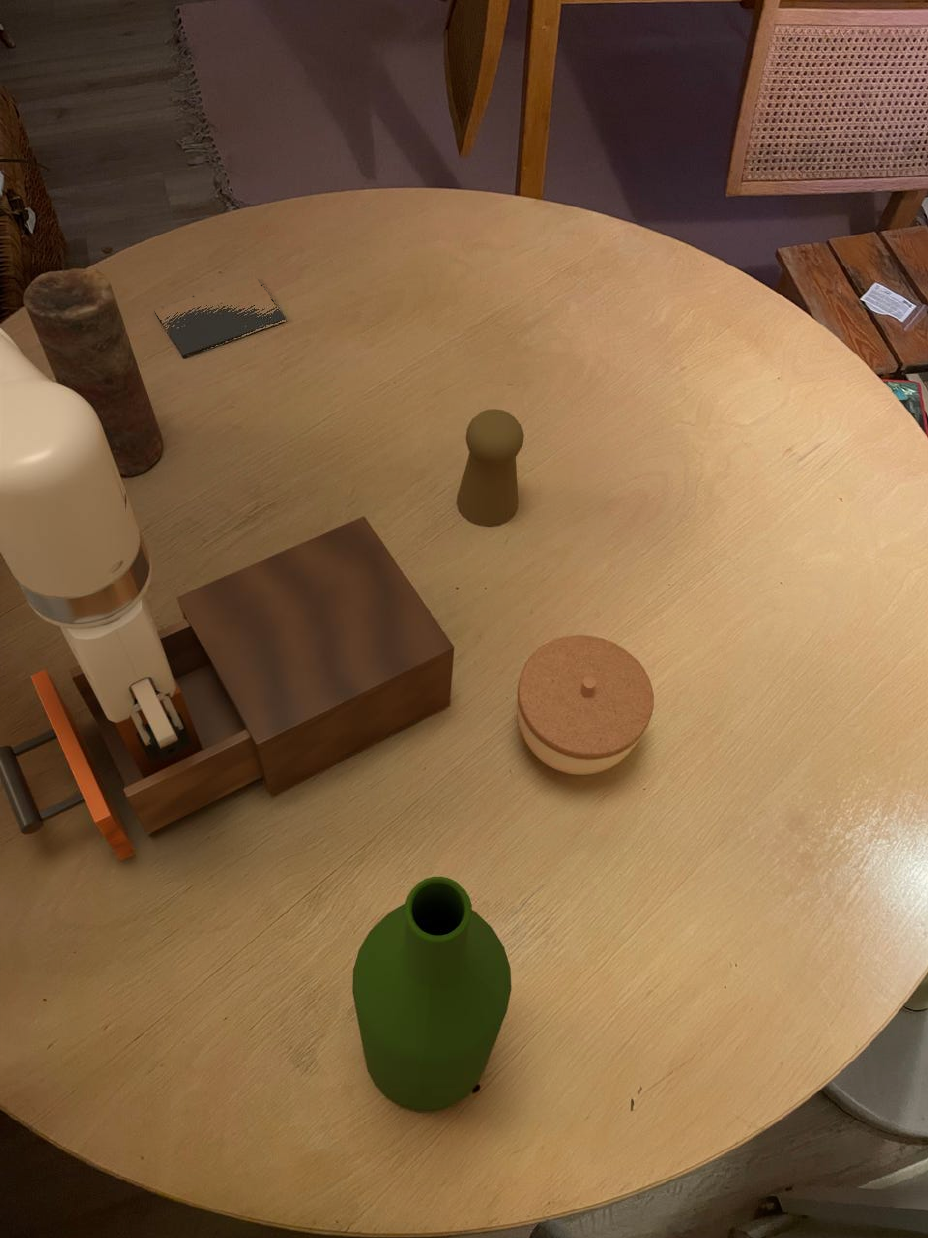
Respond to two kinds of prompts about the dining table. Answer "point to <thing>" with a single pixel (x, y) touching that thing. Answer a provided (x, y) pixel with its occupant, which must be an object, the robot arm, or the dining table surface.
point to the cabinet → (322, 651)
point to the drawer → (152, 798)
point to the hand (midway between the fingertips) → (144, 698)
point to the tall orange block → (130, 729)
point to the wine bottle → (430, 997)
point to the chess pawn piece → (491, 469)
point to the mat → (215, 327)
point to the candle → (96, 360)
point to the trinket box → (583, 704)
